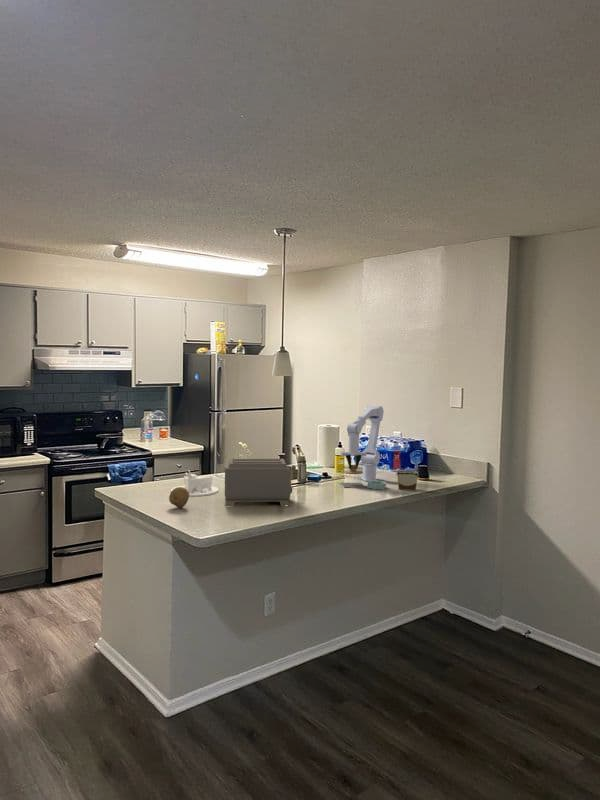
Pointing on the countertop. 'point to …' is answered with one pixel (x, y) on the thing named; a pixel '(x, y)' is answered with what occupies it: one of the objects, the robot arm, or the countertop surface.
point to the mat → (352, 484)
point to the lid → (353, 470)
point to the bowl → (377, 484)
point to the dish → (198, 485)
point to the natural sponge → (179, 497)
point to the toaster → (257, 481)
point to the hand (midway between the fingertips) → (353, 468)
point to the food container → (407, 479)
